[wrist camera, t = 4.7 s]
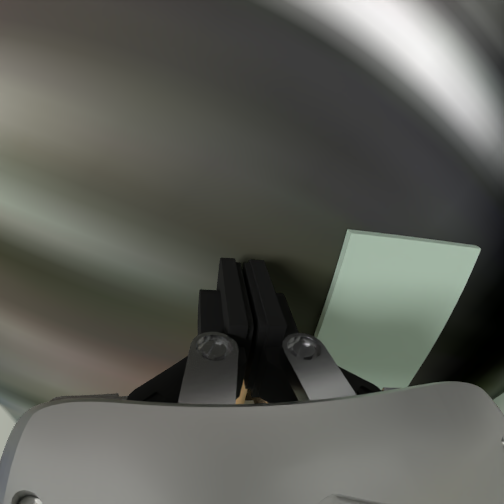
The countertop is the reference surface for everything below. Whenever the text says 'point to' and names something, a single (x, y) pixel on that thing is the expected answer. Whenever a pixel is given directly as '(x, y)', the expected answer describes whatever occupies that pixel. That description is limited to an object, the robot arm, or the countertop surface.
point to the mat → (391, 303)
